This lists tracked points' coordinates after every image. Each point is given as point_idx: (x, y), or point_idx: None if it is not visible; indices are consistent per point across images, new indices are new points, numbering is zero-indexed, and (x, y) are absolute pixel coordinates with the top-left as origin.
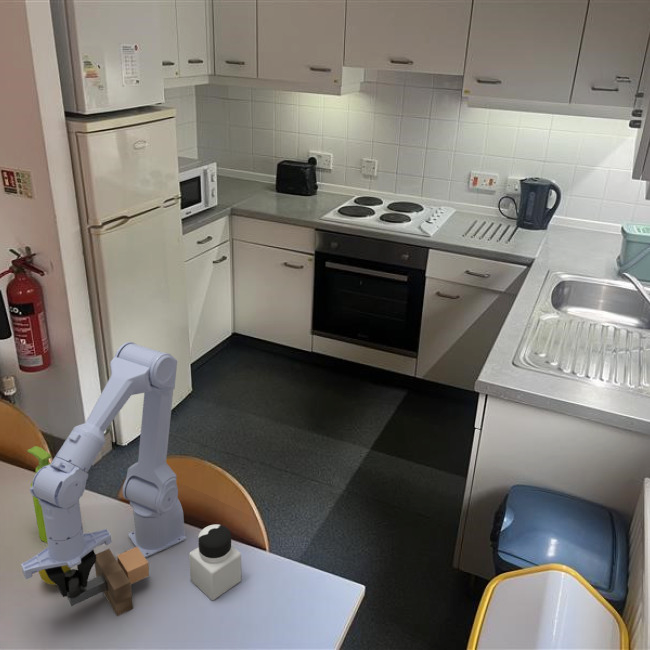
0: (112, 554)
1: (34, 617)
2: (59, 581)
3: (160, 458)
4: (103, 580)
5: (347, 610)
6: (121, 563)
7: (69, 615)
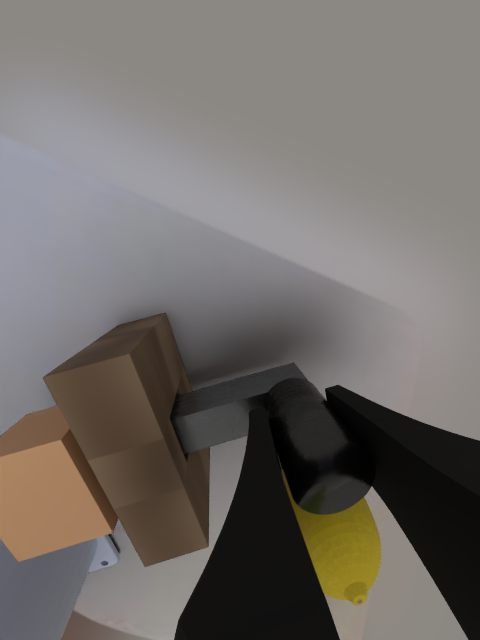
0: (131, 539)
1: (359, 376)
2: (466, 452)
3: None
4: (183, 427)
5: None
6: (95, 490)
7: (285, 357)
